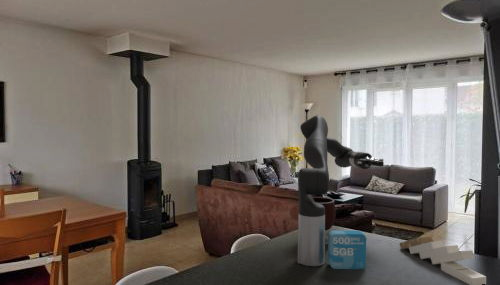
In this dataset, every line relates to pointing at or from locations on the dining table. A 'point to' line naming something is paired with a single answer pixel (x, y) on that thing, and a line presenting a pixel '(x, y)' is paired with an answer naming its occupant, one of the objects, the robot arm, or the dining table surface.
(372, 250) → the dining table surface
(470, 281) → the end tile
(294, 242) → the dining table surface
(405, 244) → the tile
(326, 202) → the mate gourd
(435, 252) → the tile
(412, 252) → the tile
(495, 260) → the dining table surface
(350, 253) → the data package
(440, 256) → the white domino block
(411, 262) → the dining table surface
